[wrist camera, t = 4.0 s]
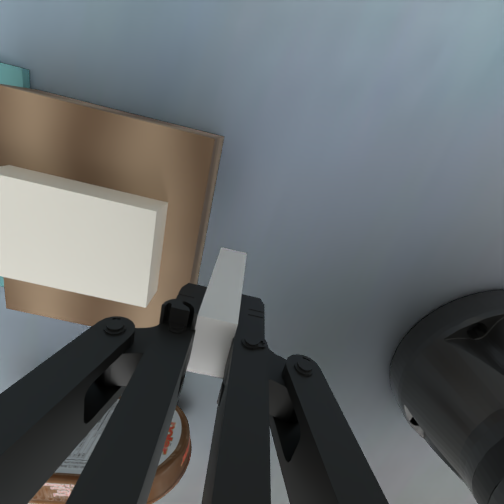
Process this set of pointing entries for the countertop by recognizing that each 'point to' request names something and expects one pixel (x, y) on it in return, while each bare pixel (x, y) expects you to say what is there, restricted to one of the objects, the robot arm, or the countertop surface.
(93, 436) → the tin
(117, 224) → the white rectangular block
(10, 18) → the countertop surface
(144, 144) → the brown wooden block
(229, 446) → the robot arm
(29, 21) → the countertop surface
